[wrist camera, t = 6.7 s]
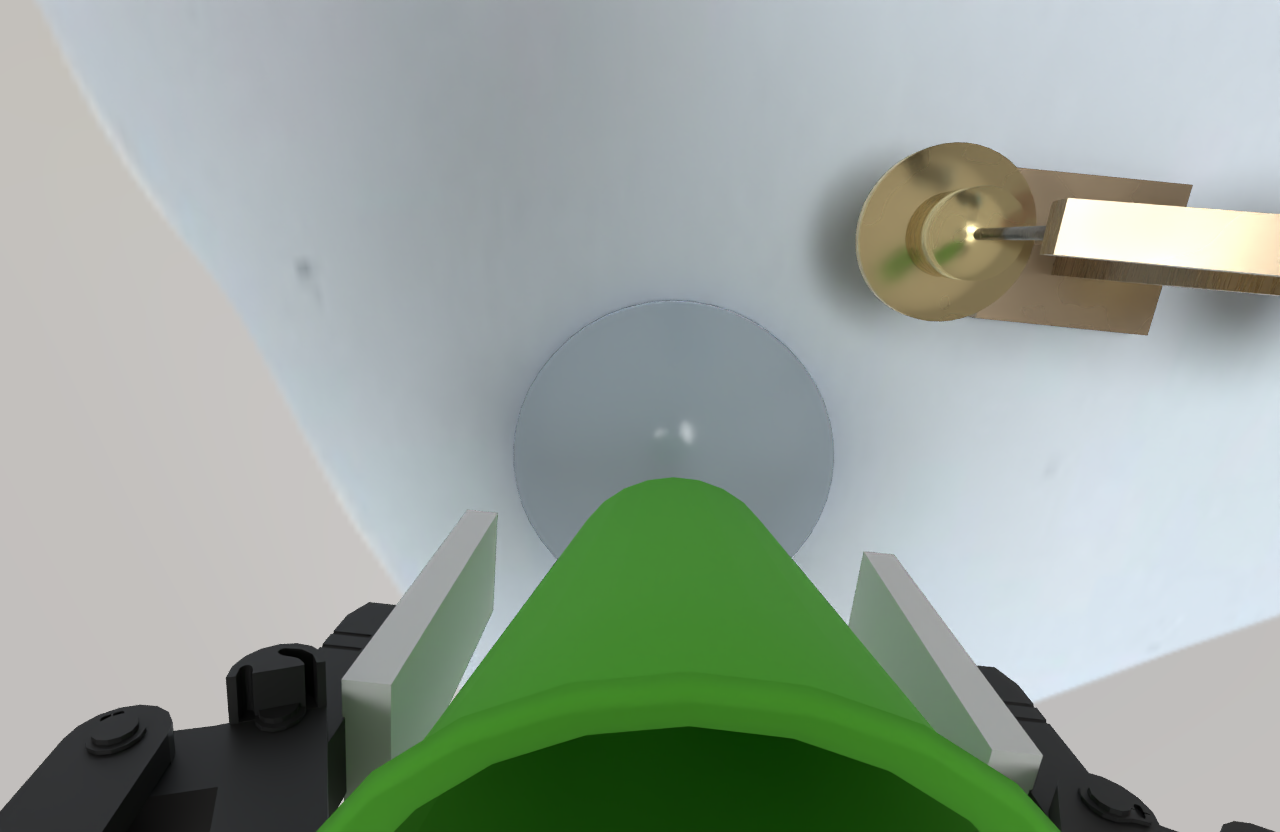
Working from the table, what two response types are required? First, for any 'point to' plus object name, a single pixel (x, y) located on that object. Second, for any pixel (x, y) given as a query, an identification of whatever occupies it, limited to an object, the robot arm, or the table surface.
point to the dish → (673, 420)
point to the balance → (1048, 243)
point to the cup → (682, 702)
